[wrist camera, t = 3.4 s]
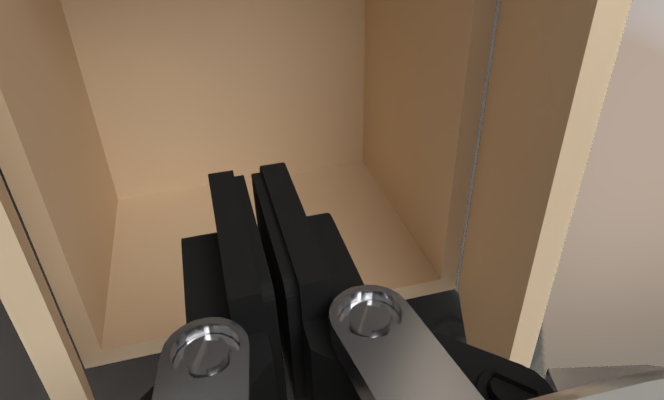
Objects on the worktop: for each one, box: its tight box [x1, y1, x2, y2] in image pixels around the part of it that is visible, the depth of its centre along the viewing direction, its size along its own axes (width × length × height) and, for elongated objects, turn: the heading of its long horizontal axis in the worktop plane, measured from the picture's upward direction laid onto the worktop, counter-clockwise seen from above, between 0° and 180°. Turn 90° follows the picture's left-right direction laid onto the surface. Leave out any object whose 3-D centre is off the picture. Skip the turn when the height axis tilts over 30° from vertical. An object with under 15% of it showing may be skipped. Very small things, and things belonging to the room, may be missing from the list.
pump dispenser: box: [406, 289, 467, 344], centre depth 35 cm, size 10×10×15 cm
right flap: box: [458, 0, 632, 368], centre depth 15 cm, size 20×8×1 cm
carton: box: [0, 0, 497, 369], centre depth 22 cm, size 20×16×12 cm
